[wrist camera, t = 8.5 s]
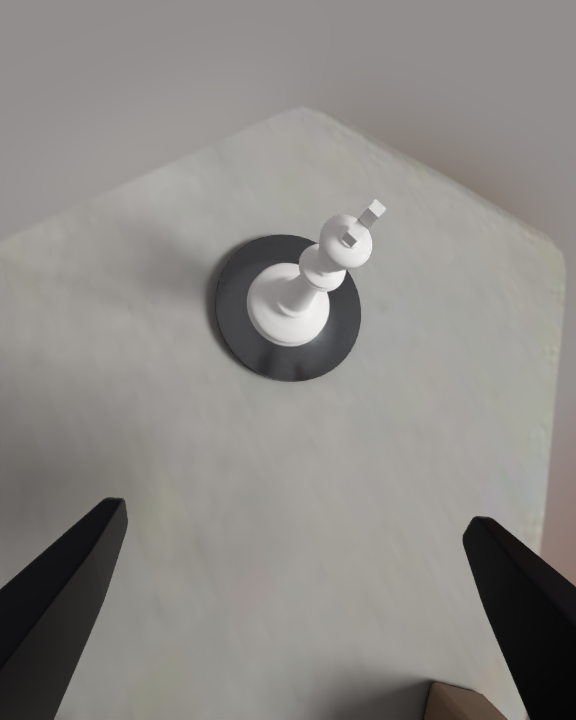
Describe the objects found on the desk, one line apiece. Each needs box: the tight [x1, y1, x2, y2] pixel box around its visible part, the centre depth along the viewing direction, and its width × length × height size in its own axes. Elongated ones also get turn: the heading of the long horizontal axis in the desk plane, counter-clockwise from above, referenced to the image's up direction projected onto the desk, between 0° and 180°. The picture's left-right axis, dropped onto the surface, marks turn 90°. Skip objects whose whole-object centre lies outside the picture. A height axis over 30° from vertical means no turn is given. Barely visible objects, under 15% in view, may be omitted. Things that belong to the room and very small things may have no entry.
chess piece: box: [247, 199, 386, 346], centre depth 15 cm, size 5×5×10 cm
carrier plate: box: [215, 235, 361, 382], centre depth 20 cm, size 9×9×1 cm
